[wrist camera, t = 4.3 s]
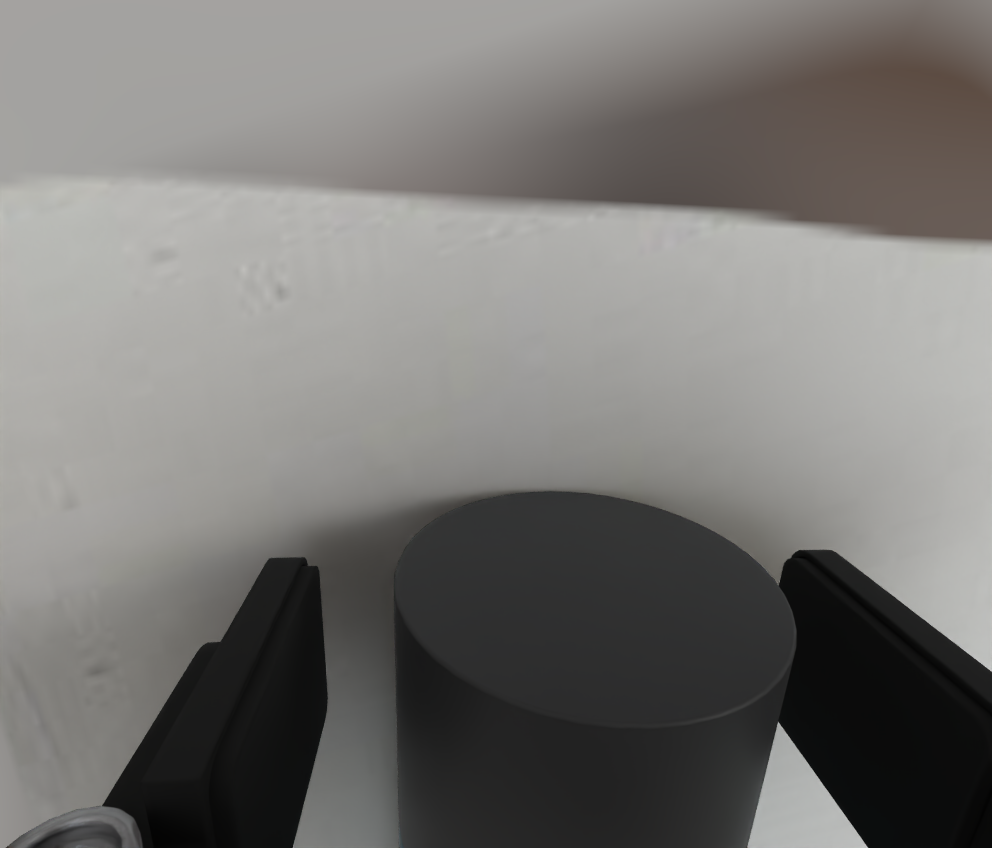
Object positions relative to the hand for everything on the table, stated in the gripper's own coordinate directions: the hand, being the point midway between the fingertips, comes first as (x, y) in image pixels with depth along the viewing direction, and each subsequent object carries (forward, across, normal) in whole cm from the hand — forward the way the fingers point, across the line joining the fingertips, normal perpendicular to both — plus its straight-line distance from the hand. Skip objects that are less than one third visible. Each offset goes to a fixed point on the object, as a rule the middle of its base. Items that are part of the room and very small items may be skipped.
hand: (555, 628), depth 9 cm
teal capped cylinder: (+1, 0, +6) cm, 7 cm away
